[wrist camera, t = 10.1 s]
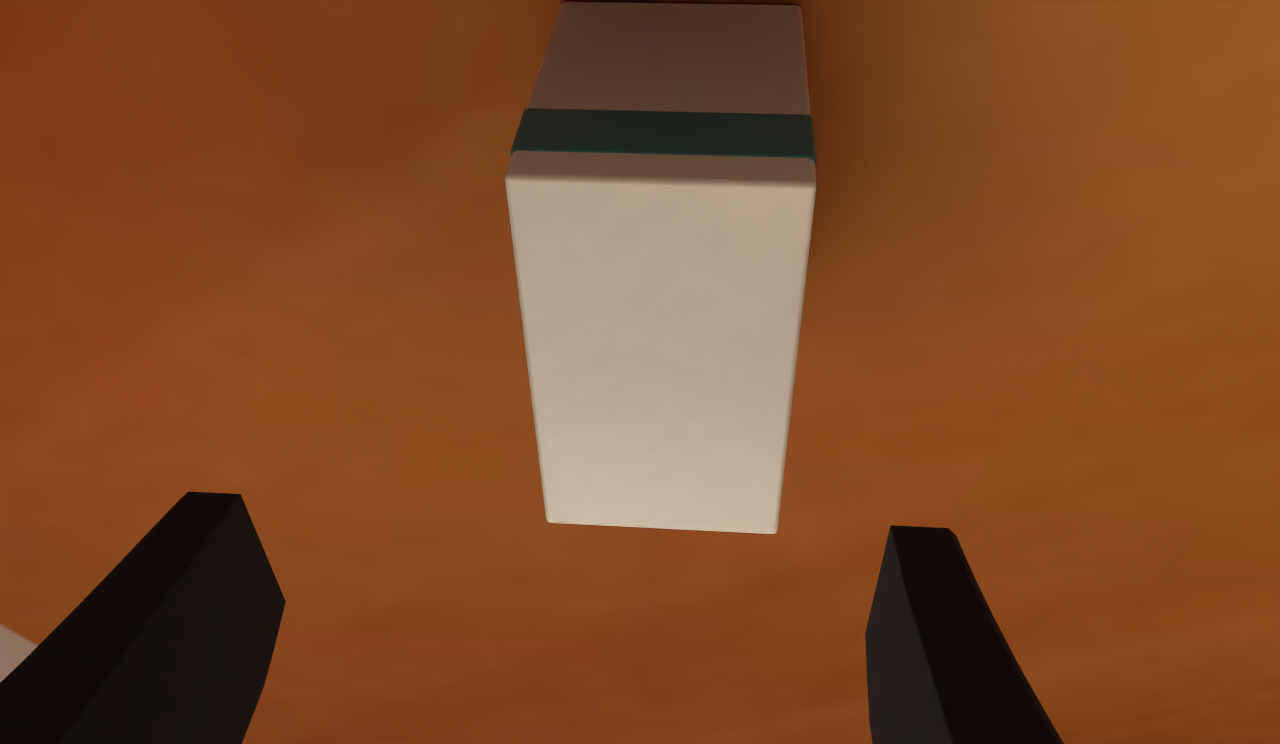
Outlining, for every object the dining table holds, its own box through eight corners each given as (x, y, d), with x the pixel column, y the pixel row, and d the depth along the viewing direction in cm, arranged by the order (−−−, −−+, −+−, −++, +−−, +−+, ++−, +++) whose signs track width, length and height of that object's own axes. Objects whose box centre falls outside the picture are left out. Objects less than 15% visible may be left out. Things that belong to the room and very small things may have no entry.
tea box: (582, 322, 22) (545, 525, 18) (559, -2, 17) (501, 174, 13) (773, 330, 22) (778, 537, 18) (803, 1, 17) (819, 182, 13)
